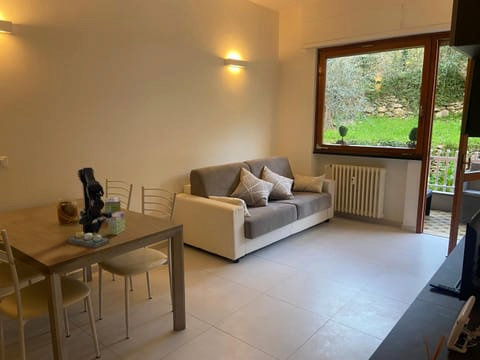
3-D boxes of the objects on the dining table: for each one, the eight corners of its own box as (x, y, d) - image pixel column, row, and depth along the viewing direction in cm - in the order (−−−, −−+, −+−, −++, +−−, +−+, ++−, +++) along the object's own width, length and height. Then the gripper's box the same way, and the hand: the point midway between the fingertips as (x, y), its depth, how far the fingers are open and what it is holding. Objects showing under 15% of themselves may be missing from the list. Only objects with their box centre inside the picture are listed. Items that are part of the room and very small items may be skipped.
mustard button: (80, 235, 210) (80, 230, 210) (85, 236, 208) (85, 231, 208) (74, 237, 206) (73, 233, 206) (79, 239, 205) (79, 234, 204)
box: (117, 229, 229) (116, 211, 227) (125, 230, 228) (124, 212, 226) (108, 234, 218) (107, 216, 216) (117, 235, 218) (116, 216, 216)
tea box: (121, 221, 246) (120, 200, 243) (106, 223, 242) (104, 202, 239) (120, 216, 259) (119, 196, 257) (105, 217, 256) (104, 197, 253)
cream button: (88, 237, 207) (88, 232, 207) (94, 238, 205) (93, 233, 205) (83, 239, 203) (82, 234, 203) (88, 240, 202) (87, 235, 201)
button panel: (82, 236, 214) (82, 233, 214) (109, 242, 205) (109, 239, 204) (68, 241, 205) (67, 238, 205) (95, 248, 196) (95, 244, 195)
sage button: (97, 239, 204) (97, 234, 204) (103, 240, 202) (102, 235, 202) (91, 241, 201) (91, 236, 200) (97, 242, 199) (97, 237, 198)
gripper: (97, 201, 210) (99, 226, 212) (70, 208, 193) (72, 235, 196) (112, 203, 205) (113, 229, 208) (85, 210, 188) (87, 238, 191)
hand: (97, 232), depth 201 cm, fingers closed
